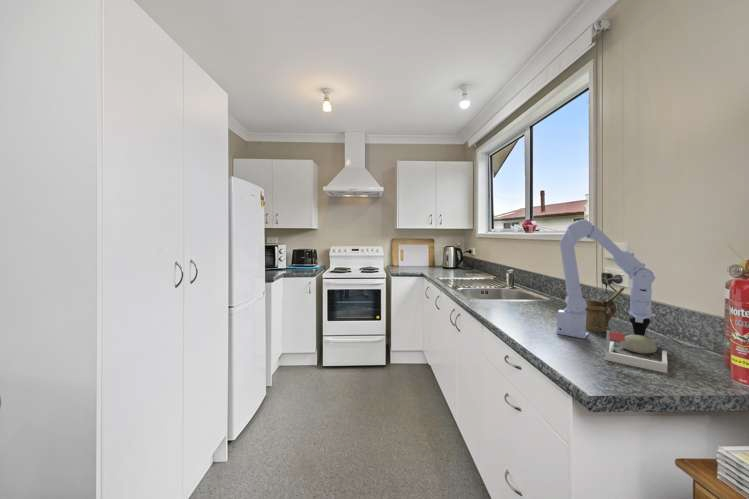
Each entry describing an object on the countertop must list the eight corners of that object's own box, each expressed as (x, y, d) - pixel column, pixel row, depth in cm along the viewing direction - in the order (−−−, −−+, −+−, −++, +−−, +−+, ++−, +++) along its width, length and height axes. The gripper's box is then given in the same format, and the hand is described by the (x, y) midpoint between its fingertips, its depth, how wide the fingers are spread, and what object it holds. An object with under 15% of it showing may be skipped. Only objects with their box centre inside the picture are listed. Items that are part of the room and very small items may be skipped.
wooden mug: (622, 335, 121) (624, 289, 120) (580, 329, 129) (582, 285, 128) (622, 330, 128) (624, 286, 127) (582, 324, 136) (584, 283, 135)
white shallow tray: (605, 360, 97) (606, 331, 97) (610, 348, 107) (611, 322, 107) (667, 373, 88) (668, 341, 88) (666, 359, 98) (667, 330, 98)
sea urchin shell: (667, 350, 100) (647, 332, 101) (646, 366, 102) (626, 348, 103) (648, 341, 109) (630, 324, 110) (629, 355, 111) (611, 339, 111)
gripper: (655, 305, 105) (653, 346, 105) (655, 299, 116) (654, 336, 116) (628, 302, 109) (626, 341, 110) (630, 296, 120) (629, 332, 121)
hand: (639, 338), depth 113 cm, fingers closed
